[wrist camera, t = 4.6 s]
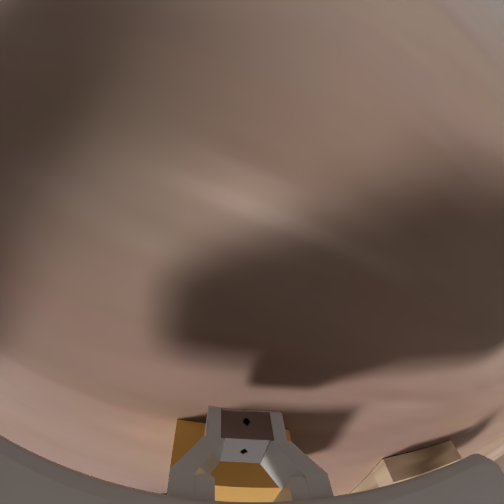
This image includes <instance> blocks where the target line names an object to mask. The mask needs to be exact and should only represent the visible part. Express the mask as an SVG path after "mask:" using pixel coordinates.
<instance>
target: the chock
mask: <svg viewBox="0 0 504 504" xmlns="http://www.w3.org/2000/svg"><path fill="white" fill-rule="evenodd" d="M205 426H206V423H200V422H193V421H187V420H181V419H177V425H176V431H175V438H174V445H173V451H172V459H171V466H170V468H171V467H172V466H173V465H174V464H176V463H177V462H178V461H179V460H180V459H181V458H182V457H183V456H184V455H185V454H186V453H187V452H188V451H189V450H190V449H191V448H192V447H193V446H194V445H195V444H196V443H197V442H198V441H199V440H200V439H201V438H202V437H203V436H205ZM285 431H286V436H287V440H288V441H291V437H290V432H289V430H285ZM169 474H170V473H169ZM210 475H212V476H213V477H214V478H215V501H227V502H273V501H274V499H275V498H276V497H277V495H278V494H279V493H280V491H281V489H280V488H279V486H278V485H277V484H276V483H275V482H274V480H273V479H272V478H271V477H270V475H269V474H268V473H267V472H266V471H265V469H264V468H263V467H262V466H261V463H247V462H227V461H220V462H219V464H218V465H217V466H216V468H215V469H214V470H213V471H212V473H211V474H210Z"/></svg>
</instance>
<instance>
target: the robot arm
mask: <svg viewBox="0 0 504 504" xmlns="http://www.w3.org/2000/svg"><path fill="white" fill-rule="evenodd" d="M220 461H227V462H247V463H261V466H262V467H263V468H264V469H265V471H266V472H267V473H268V474H269V475H270V477H271V478H272V479H273V480H274V482H275V483H276V484H277V485H278V486H279V488H280V489H281V491H280V493H279V494H278V495H277V497H276V498H275V499H274V501H273V502H227V501H215V478H214V477H213V476H212V475H210V474H211V473H212V471H213V470H214V469H215V468H216V466H217V465H218V464H219V462H220ZM0 504H504V473H503V471H502V470H501V468H500V467H499V465H498V464H497V463H496V462H494V461H492V460H491V459H489V458H487V457H485V456H483V455H480V454H473V455H470V456H468V457H466V458H464V459H461V460H459V461H457V462H454V463H452V464H450V465H447V466H445V467H442V468H440V469H437V470H434V471H432V472H429V473H426V474H423V475H420V476H417V477H414V478H411V479H408V480H405V481H401V482H398V483H394V484H391V485H387V486H383V487H379V488H375V489H370V490H366V491H361V492H356V493H351V494H345V495H339V496H334V495H333V492H332V488H331V485H330V481H329V478H328V474H327V473H326V472H325V471H324V470H323V469H322V468H320V467H319V466H318V465H317V464H316V463H315V462H314V461H312V460H311V459H310V458H309V457H308V456H307V455H306V454H305V453H304V452H302V451H301V450H300V449H299V448H298V447H297V446H296V445H295V444H294V443H293V442H292V441H288V440H287V436H286V431H285V426H284V421H283V416H282V413H281V412H278V411H257V410H238V409H229V408H220V407H213V406H208V411H207V418H206V426H205V436H203V437H202V438H201V439H200V440H199V441H198V442H197V443H196V444H195V445H194V446H193V447H192V448H191V449H190V450H189V451H188V452H187V453H186V454H185V455H184V456H183V457H182V458H181V459H180V460H179V461H178V462H177V463H176V464H174V465H173V466H172V467H171V468H170V474H169V481H168V489H167V495H165V494H159V493H154V492H149V491H144V490H140V489H135V488H131V487H127V486H123V485H119V484H116V483H112V482H109V481H105V480H102V479H99V478H96V477H92V476H89V475H86V474H84V473H81V472H78V471H75V470H73V469H70V468H67V467H65V466H62V465H60V464H57V463H55V462H53V461H50V460H48V459H46V458H44V457H41V456H39V455H37V454H35V453H33V452H31V451H29V450H27V449H25V448H23V447H21V446H19V445H17V444H15V443H13V442H12V441H10V440H8V439H6V438H5V437H3V436H1V435H0Z"/></svg>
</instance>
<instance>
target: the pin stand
mask: <svg viewBox="0 0 504 504" xmlns="http://www.w3.org/2000/svg"><path fill="white" fill-rule="evenodd" d="M459 460H461V456H460V454H459V453H458V451H457V450H456V448H455V446H454V445H453V443H452V442H451V440H449V441H446V442H443V443H440V444H437V445H434V446H431V447H427V448H424V449H421V450H417V451H413V452H409V453H406V454H401V455H397V456H393V457H388V458H384V459H382V460H381V462H380V463H379V464H378V465H377V466H376V467H375V468H374V469H373V470H372V472H371V473H370V474H369V475H368V476H367V477H366V478H365V479H364V480H363V481H362V482H361V483H360V484H359V485H358V486H357V487H356V488H355V489H354V490H353V491H352V492H351V493H356V492H361V491H366V490H370V489H375V488H379V487H383V486H387V485H391V484H394V483H398V482H401V481H405V480H408V479H411V478H414V477H417V476H420V475H423V474H426V473H429V472H432V471H434V470H437V469H440V468H442V467H445V466H447V465H450V464H452V463H454V462H457V461H459ZM351 493H350V494H351Z"/></svg>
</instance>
